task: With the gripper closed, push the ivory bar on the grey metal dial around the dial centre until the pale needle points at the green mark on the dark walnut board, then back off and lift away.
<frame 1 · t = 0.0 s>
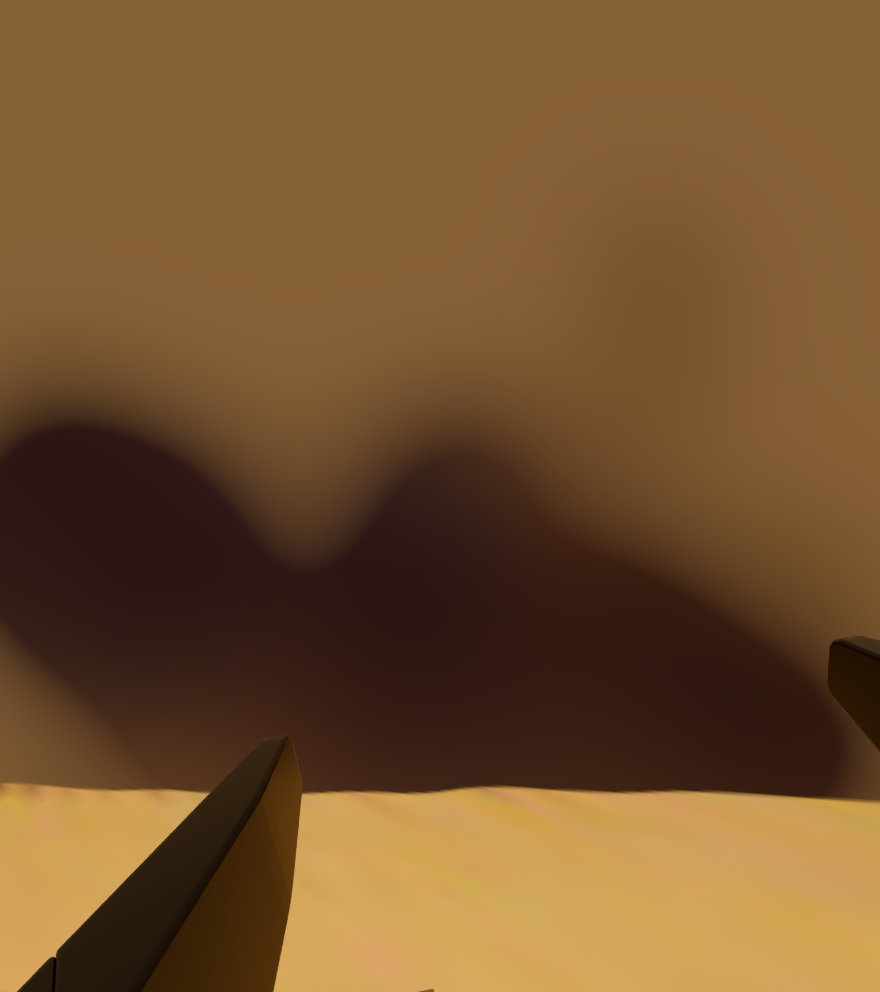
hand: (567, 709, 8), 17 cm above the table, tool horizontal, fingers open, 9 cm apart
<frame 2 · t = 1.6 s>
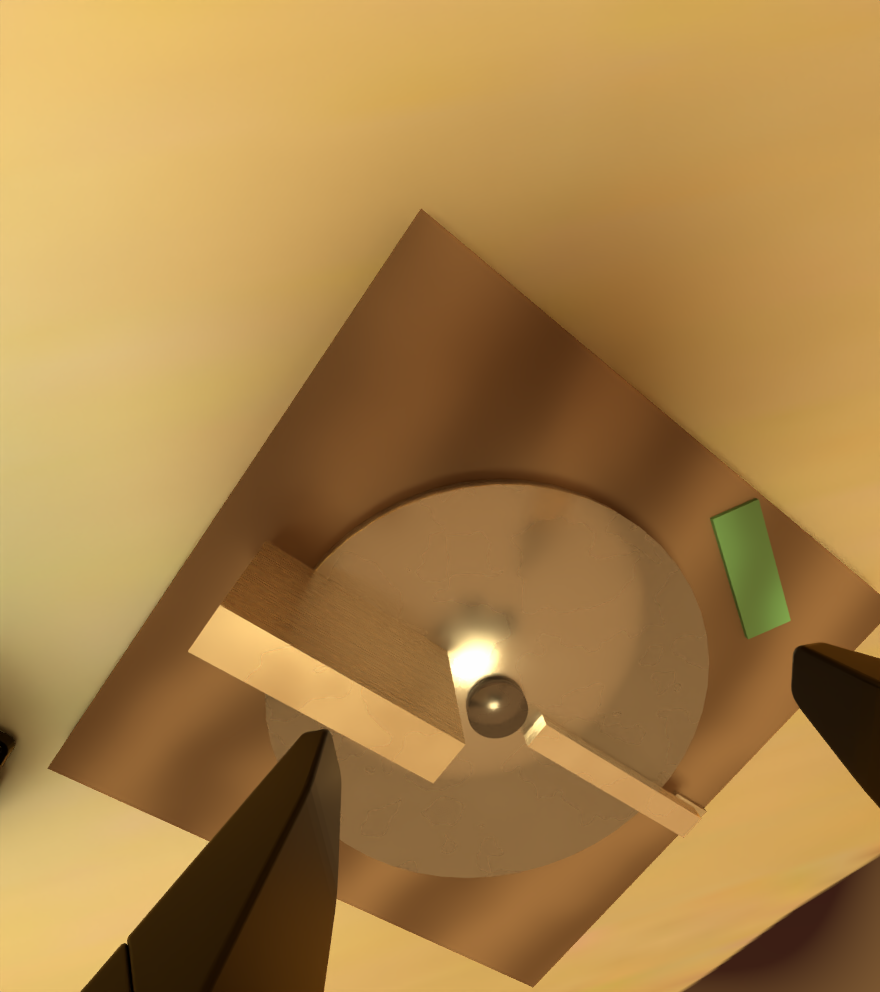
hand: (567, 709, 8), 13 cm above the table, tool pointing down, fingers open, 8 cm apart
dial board: (483, 664, 23), on the table
dial: (505, 737, 18), point 5 cm above the table, hinge at 0.0°
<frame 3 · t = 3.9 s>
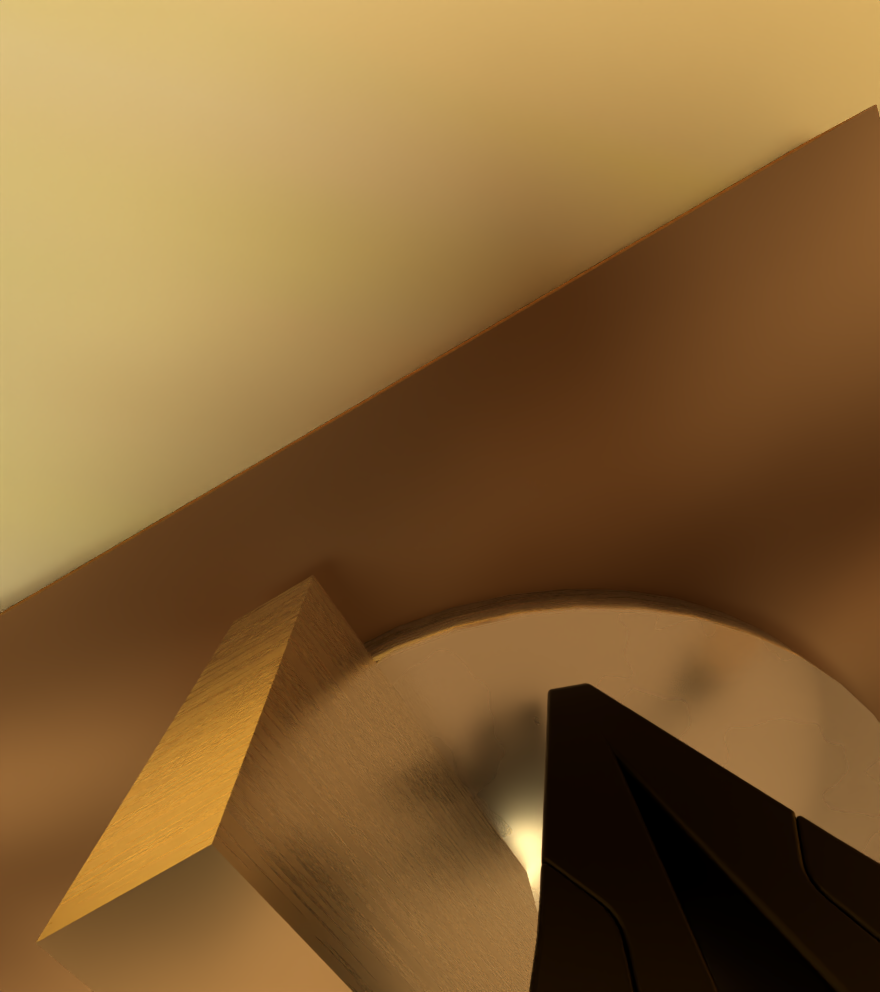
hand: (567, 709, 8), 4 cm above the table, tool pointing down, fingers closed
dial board: (525, 859, 14), on the table
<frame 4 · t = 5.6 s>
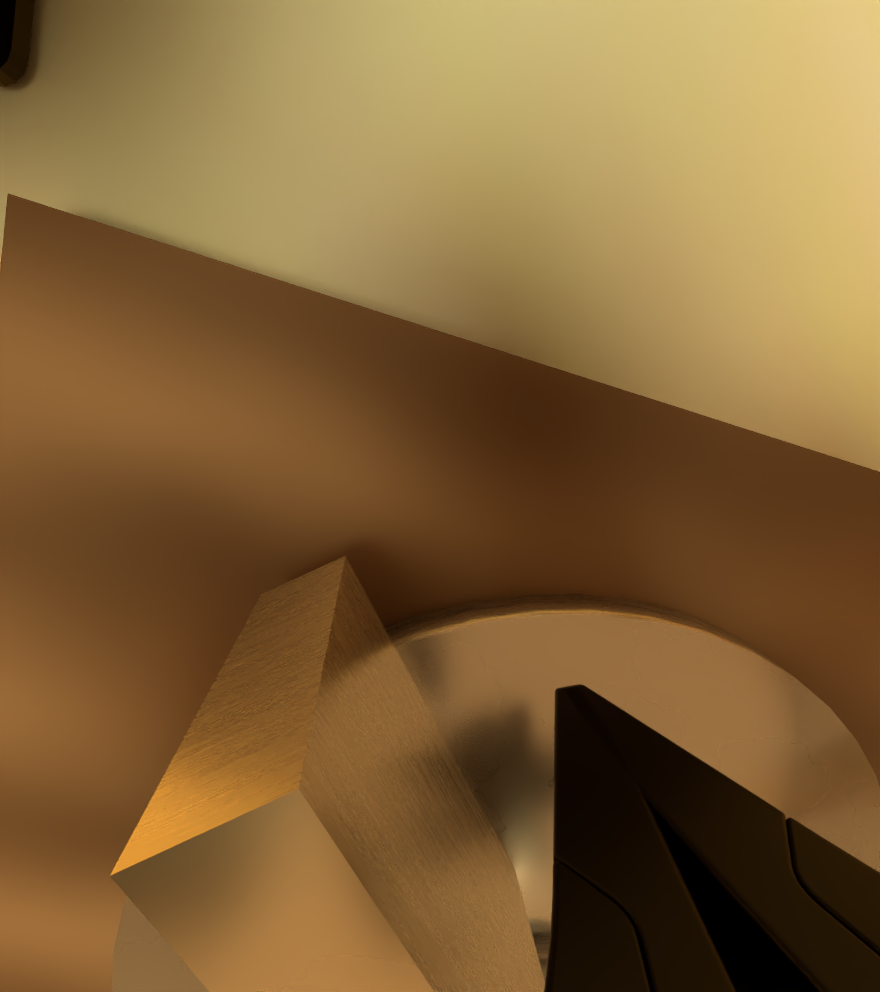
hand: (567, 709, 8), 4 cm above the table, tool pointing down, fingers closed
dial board: (504, 862, 14), on the table
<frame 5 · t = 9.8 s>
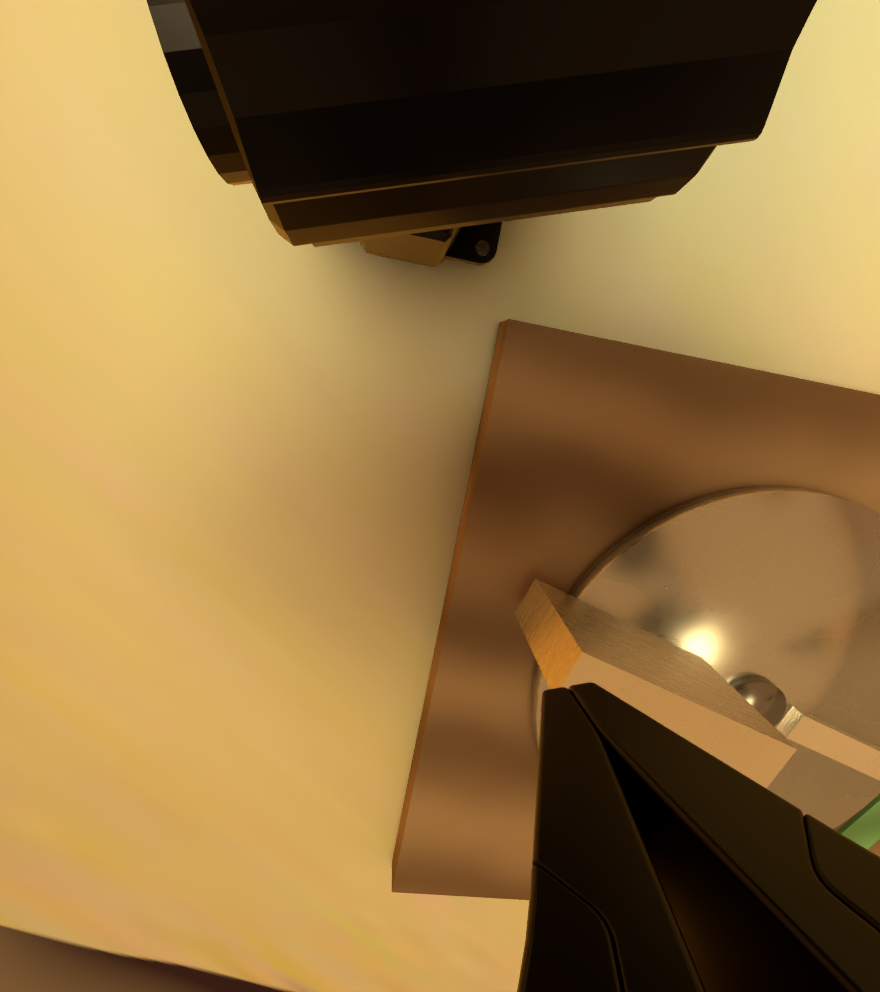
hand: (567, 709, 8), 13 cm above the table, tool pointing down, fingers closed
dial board: (709, 663, 24), on the table
dial: (783, 734, 19), point 5 cm above the table, hinge at 72.5°
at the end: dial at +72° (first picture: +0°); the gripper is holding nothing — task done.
